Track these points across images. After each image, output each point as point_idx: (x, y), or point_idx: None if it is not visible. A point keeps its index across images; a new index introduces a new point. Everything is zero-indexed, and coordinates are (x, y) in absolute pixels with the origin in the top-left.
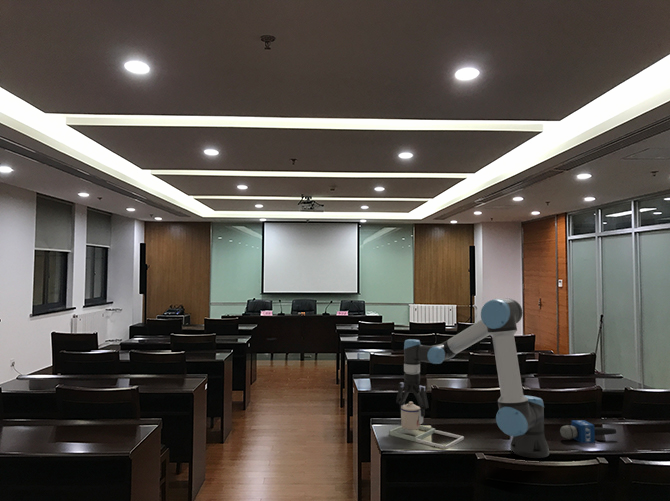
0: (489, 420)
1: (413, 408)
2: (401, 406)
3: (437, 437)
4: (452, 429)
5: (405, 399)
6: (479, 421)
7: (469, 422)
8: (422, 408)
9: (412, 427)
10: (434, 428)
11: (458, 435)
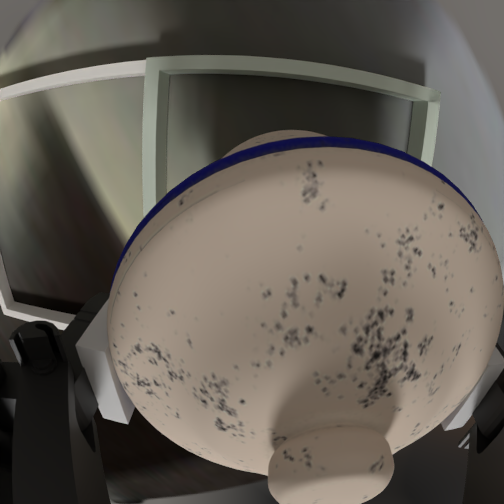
0: (127, 491)
1: (173, 306)
2: (496, 355)
3: (96, 258)
4: (135, 409)
5: (472, 497)
6: (138, 485)
7: (152, 476)
8: (21, 358)
9: (226, 154)
10: None
11: (23, 317)
